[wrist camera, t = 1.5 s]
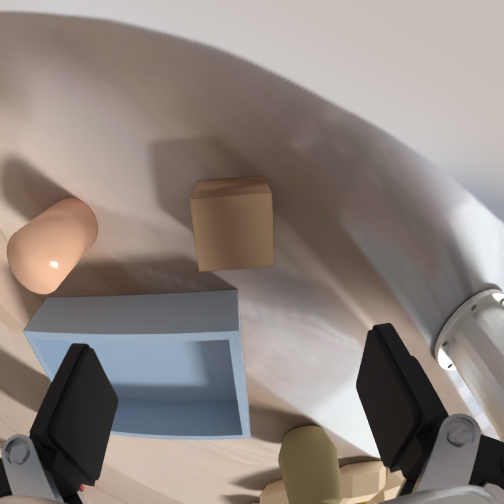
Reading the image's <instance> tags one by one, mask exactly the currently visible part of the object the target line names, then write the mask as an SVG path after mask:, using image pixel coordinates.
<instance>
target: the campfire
mask: <svg viewBox="0 0 504 504" xmlns="http://www.w3.org/2000/svg"><path fill="white" fill-rule="evenodd" d="M339 471H340V480H341V489H342V498H343V500H342V501H341V502H340V504H376V503H379V502H383V501H387V500H390V499H393V498H395V497H396V495H397V493H398V491H399V489H400V487H401V485H402V483H403V480H404V477H403V474H402V472H401V470H399V471H396V472H393V473H391V472H390V469H389V467H388V468H386V467H385V466H384V465H383V463H382V461H369V462H361V463H355V464H348V465H344V466H342V467H341V468H339ZM252 504H289V501H288V497H287V494H286V490H285V486H284V482H283V479H281V480H278V481H275V482H272V483H269V484H267V486H266V487H265V489H264V490H263V492H262V493H261V495H260V502H254V503H252Z"/></svg>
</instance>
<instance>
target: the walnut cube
mask: <svg viewBox="0 0 504 504" xmlns="http://www.w3.org/2000/svg"><path fill="white" fill-rule="evenodd" d="M190 208H191V215H192V223H193V231H194V238H195V245H196V252H197V259H198V266H199V272H200V271H215V270H229V269H243V268H256V267H270V266H274V242H273V210H272V192H271V190H270V188H269V185H268V183H267V181H266V178H265V176H256V177H241V178H228V179H215V180H204V181H198V182H197V184H196V186H195V189H194V191H193V193H192V195H191V197H190Z"/></svg>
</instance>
